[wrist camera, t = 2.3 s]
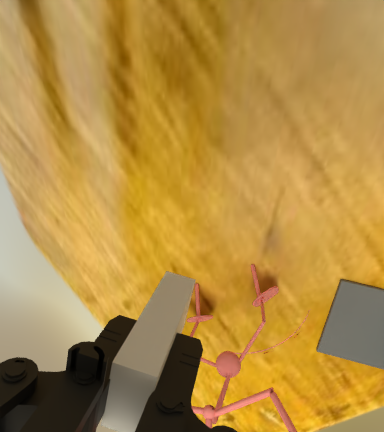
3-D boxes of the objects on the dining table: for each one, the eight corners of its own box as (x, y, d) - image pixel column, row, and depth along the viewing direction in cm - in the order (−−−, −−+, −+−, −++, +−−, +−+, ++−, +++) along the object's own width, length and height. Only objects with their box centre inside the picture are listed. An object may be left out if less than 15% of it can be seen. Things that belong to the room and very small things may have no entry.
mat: (340, 278, 48) (341, 280, 47) (439, 302, 46) (441, 304, 45) (316, 348, 51) (316, 351, 51) (406, 372, 50) (408, 375, 49)
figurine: (146, 295, 54) (-20, 582, 21) (306, 240, 47) (422, 546, 14) (187, 371, 57) (96, 724, 25) (343, 330, 50) (508, 753, 17)
